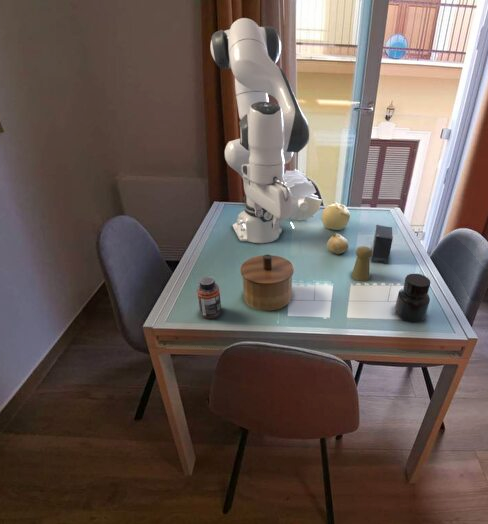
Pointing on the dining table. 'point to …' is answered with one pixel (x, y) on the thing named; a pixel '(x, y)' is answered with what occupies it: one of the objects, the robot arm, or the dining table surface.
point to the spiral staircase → (302, 195)
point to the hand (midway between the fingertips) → (267, 222)
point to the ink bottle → (413, 298)
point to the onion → (337, 244)
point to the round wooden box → (267, 295)
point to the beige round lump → (335, 216)
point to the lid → (267, 270)
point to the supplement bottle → (209, 298)
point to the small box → (382, 244)
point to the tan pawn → (362, 264)
